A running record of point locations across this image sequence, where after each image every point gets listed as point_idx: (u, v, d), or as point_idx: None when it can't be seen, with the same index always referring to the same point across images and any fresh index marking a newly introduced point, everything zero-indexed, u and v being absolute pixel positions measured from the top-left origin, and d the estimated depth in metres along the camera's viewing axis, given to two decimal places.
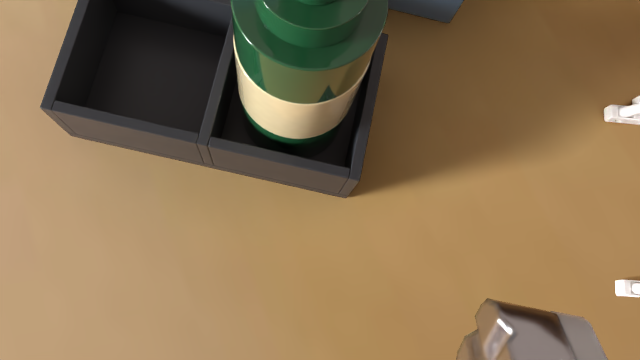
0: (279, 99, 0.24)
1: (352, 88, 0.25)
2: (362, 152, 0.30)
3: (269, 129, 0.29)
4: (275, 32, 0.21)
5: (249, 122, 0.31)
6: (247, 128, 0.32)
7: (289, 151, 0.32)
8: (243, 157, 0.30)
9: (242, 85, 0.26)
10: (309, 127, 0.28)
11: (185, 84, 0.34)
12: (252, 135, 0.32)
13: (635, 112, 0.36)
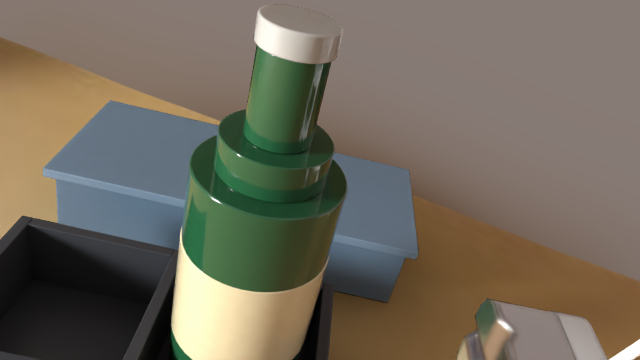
0: (231, 286, 0.21)
1: (312, 281, 0.22)
2: None
3: None
4: (237, 185, 0.20)
5: None
6: None
7: None
8: None
9: (183, 294, 0.23)
10: (259, 351, 0.23)
11: (98, 350, 0.28)
12: None
13: None
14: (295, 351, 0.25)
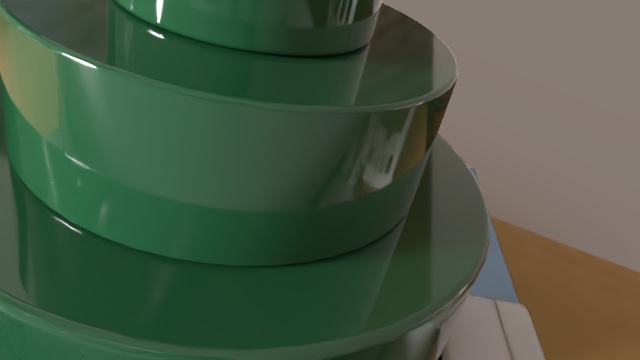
0: None
1: None
2: None
3: None
4: (64, 194, 0.04)
5: None
6: None
7: None
8: None
9: None
10: None
11: None
12: None
13: None
14: None
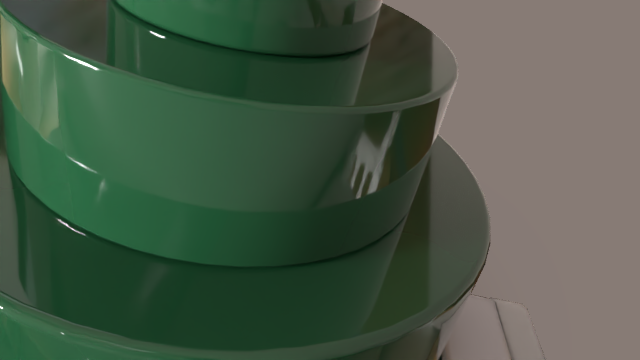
0: None
1: None
2: None
3: None
4: (63, 196, 0.04)
5: None
6: None
7: None
8: None
9: None
10: None
11: None
12: None
13: None
14: None
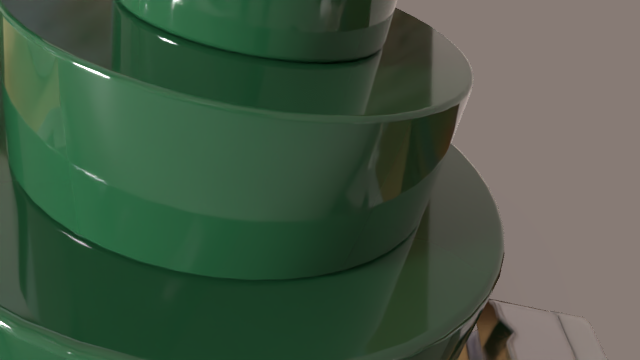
0: None
1: None
2: None
3: None
4: (66, 205, 0.04)
5: None
6: None
7: None
8: None
9: None
10: None
11: None
12: None
13: None
14: None
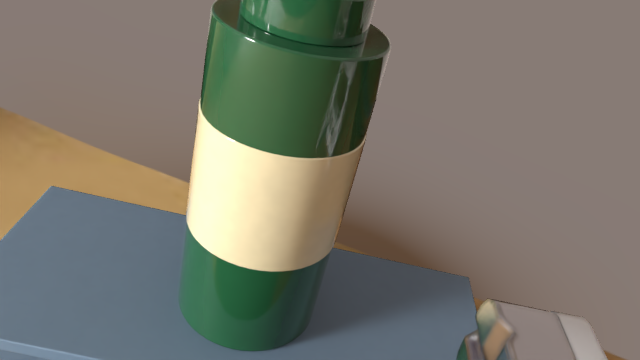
0: (259, 150, 0.18)
1: (350, 154, 0.19)
2: None
3: (230, 256, 0.21)
4: (268, 24, 0.17)
5: (195, 271, 0.22)
6: (187, 300, 0.23)
7: (249, 318, 0.22)
8: None
9: (201, 172, 0.20)
10: (288, 238, 0.20)
11: None
12: (194, 307, 0.23)
13: None
14: (326, 248, 0.22)
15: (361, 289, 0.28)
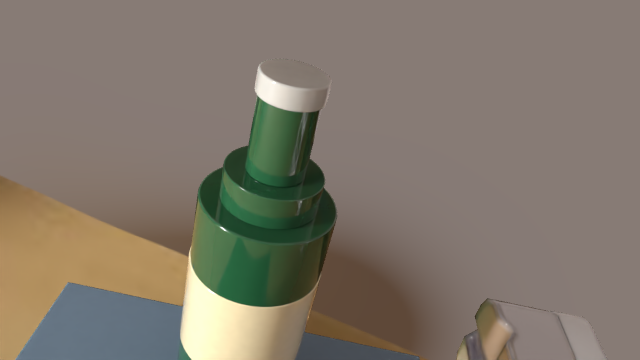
0: (234, 302, 0.24)
1: (306, 297, 0.25)
2: None
3: None
4: (240, 215, 0.23)
5: None
6: None
7: None
8: None
9: (191, 308, 0.26)
10: (259, 359, 0.26)
11: None
12: None
13: None
14: (291, 359, 0.28)
15: None
